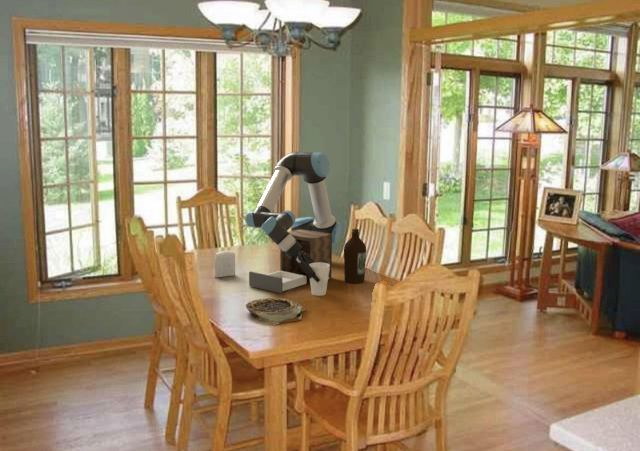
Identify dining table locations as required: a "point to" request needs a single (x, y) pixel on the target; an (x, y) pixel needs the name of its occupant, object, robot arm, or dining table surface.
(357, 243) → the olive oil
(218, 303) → the dining table surface
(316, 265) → the foam cup
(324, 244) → the cabinet
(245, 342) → the dining table surface
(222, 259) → the photo printer
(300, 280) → the tray
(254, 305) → the pie
